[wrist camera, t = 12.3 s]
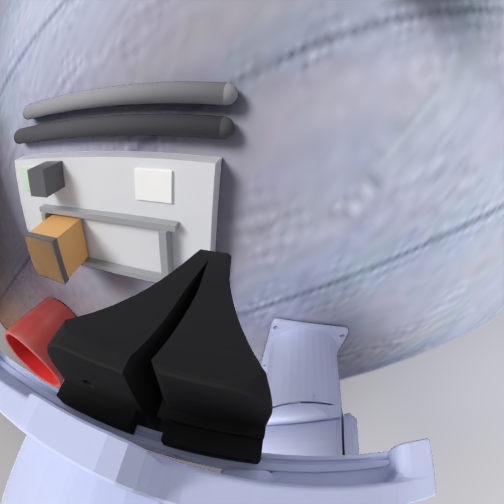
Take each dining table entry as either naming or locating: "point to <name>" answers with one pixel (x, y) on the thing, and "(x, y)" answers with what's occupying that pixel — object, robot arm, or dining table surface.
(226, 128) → the cord
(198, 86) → the cord
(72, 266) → the lever
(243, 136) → the dining table surface
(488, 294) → the dining table surface
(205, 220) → the white base panel
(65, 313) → the flower pot
